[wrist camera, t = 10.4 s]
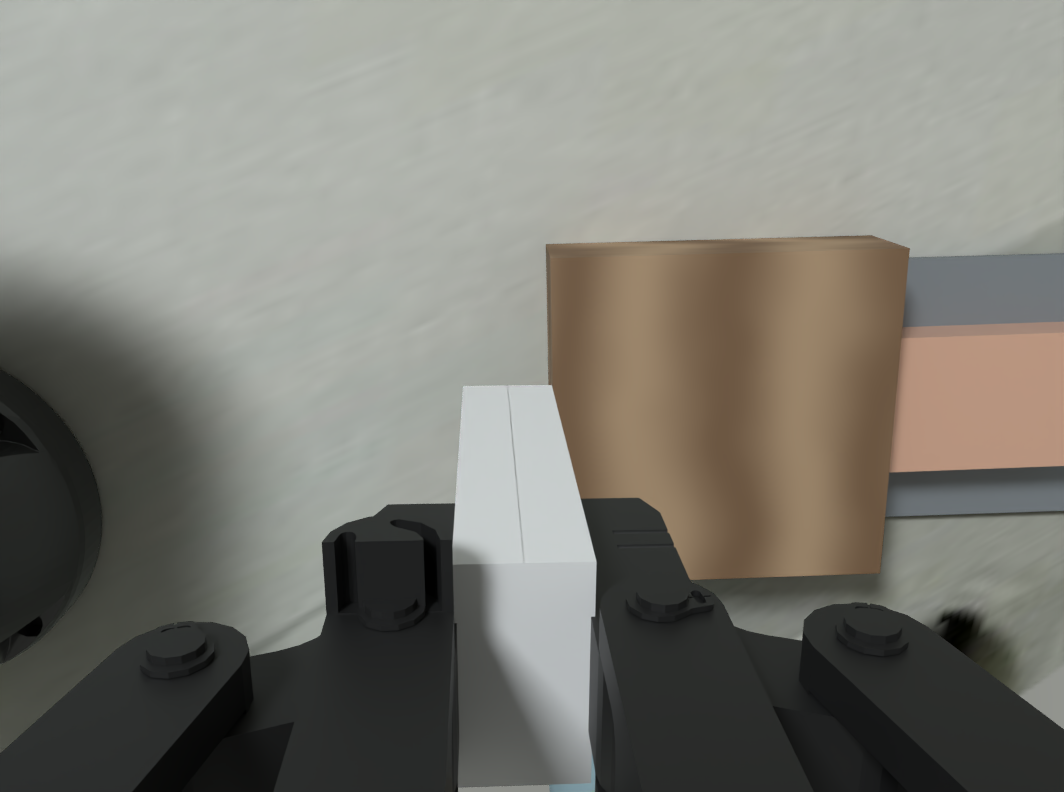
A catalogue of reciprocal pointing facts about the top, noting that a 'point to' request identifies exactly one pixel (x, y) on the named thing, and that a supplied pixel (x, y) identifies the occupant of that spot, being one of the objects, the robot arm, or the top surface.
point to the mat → (972, 299)
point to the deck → (735, 392)
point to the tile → (979, 397)
